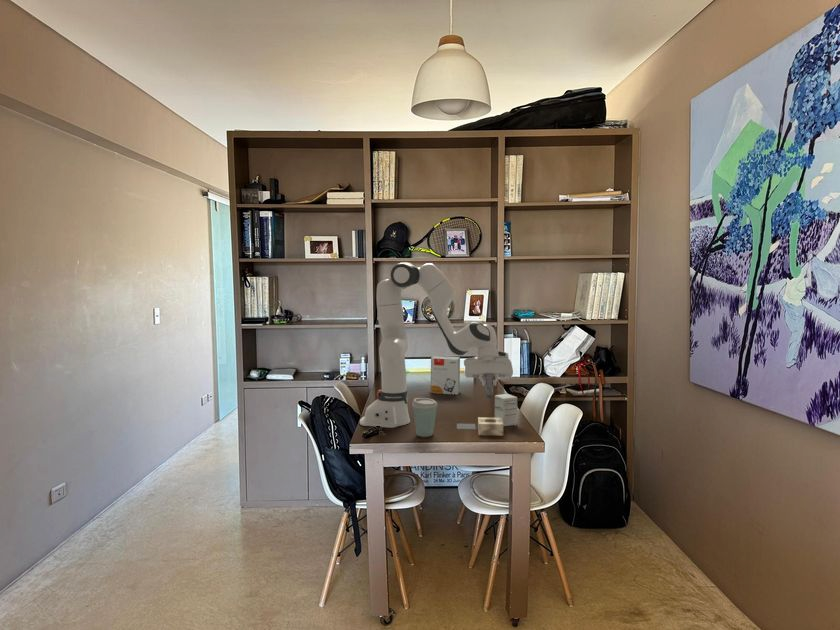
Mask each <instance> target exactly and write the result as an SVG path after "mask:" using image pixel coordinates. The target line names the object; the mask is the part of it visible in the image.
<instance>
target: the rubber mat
mask: <svg viewBox="0 0 840 630" xmlns="http://www.w3.org/2000/svg"><path fill="white" fill-rule="evenodd" d="M456 430H476V423H456Z"/></svg>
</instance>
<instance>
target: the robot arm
mask: <svg viewBox="0 0 840 630" xmlns="http://www.w3.org/2000/svg"><path fill="white" fill-rule="evenodd" d="M414 285H418V286H420V287H421V289H422V290H423V291H424V292H425V294H426V295H427V297H428V299H429V300H430V304H431V306H430V310H431V314H432V316H433V318H434V320H435V321H436V324H437V326H438V328H439V330H440V331H441V333H442V335H443V337H444V339H445V341H446V343H447V346H448V348H449V350H450V352H451V353H453V354H454V355H457V356H464V355H466V354H467V353H468V352H469V351H470V350H472V349H473V348H477V357H467V358H465V359H464V360H463V365H464V376H465V377H466V378H471V379H472V378H475V379H476V378H477V379H478V380H479V381H480V383H482V386H483V387H484V386H485V387H486V379H484V378H486V373H493V378H495V379H493V387H494V386H497V382H498V381H499V380H500V379H499V378H512V377H513V374H514V369H513V364H512V361H511V359H510V357H509V352H505V351H501V350H498V348H497V346H498V340H497V339H498V338H497V337H498V336H497V333H496V331H495V328H494V327H493V326H492V325H490V324H487V323H484V324H483V323H480V322H478V321H471V322H470V323H468V324H467V325H465V326H463V327H462V328H461V329H459V330H458V331H456V330H455V327H454V326H453V324H452V322H451V321H450V319H449V317H448V308H450V307H449V306H450V305H451V303H452V301H453V298H454V295H455V293H454V292H455V291H454V290H455V289H454V287H453V285H452V283H451V282H450V281H449V279H448V278H447V276H446V275H445V274H444V273H443V272H442V271H441V269H439V268H438V267H437V266H436V265H435V264H434V263H431V262H429V263H428V262H427V263H424V264H423V265H421V266H419V267H417V266H416V265H415V264H413V263H411V262H410V261H402V262H398V263H396V264H395V265H393V267H392V268H391V270H390V278H387V279H382V280H380V281H378V283H377V286H376V309H377V319H378V325H379V328H380V332H381V337H382V341H381V342H380V345H379V348H378V355H379V356H378V357H379V363H380V364H379V365H380V370H381V389H378V390H377V392H376V393H377V394H376V396H377V397H376V399H375V400H374V401H373V402H372V403H371V404H370V405H368V406H367V407H366V409H365V412H364V416H362V417H361V418H360V419H359V425H361V426H364V427H365V426H366V427H376V426H380V427H379V428H388V429H389V428H390V429H392V428H393V429H394V428H397V427H400V426H405V425H407V424H410V423H411V419H410V415H409V408H408V400H409V399H408V398H409V395H408V390H407V369H406V360H405V359H406V358H405V357H406V356H405V354H406V353H407V351H408V348H409V346H408V337H407V331H406V327H405V321H404V311H403V303H402V302H403V301H402V292H403V290H405V289H407V288H410V287H412V286H414Z"/></svg>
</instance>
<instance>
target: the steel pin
mask: <svg viewBox="0 0 840 630" xmlns="http://www.w3.org/2000/svg"><path fill="white" fill-rule="evenodd" d="M485 380H486V386H485V398H486V399H493V398H494V386H493V380H494V377H493V373H486V377H485Z"/></svg>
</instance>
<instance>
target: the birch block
mask: <svg viewBox="0 0 840 630" xmlns="http://www.w3.org/2000/svg"><path fill="white" fill-rule="evenodd" d="M477 432H478V436H501V437H502V436H504V426H503V421H502V418H495V417H485V416H484V417H483V416H482V417H480V416H478V417H477Z"/></svg>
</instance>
